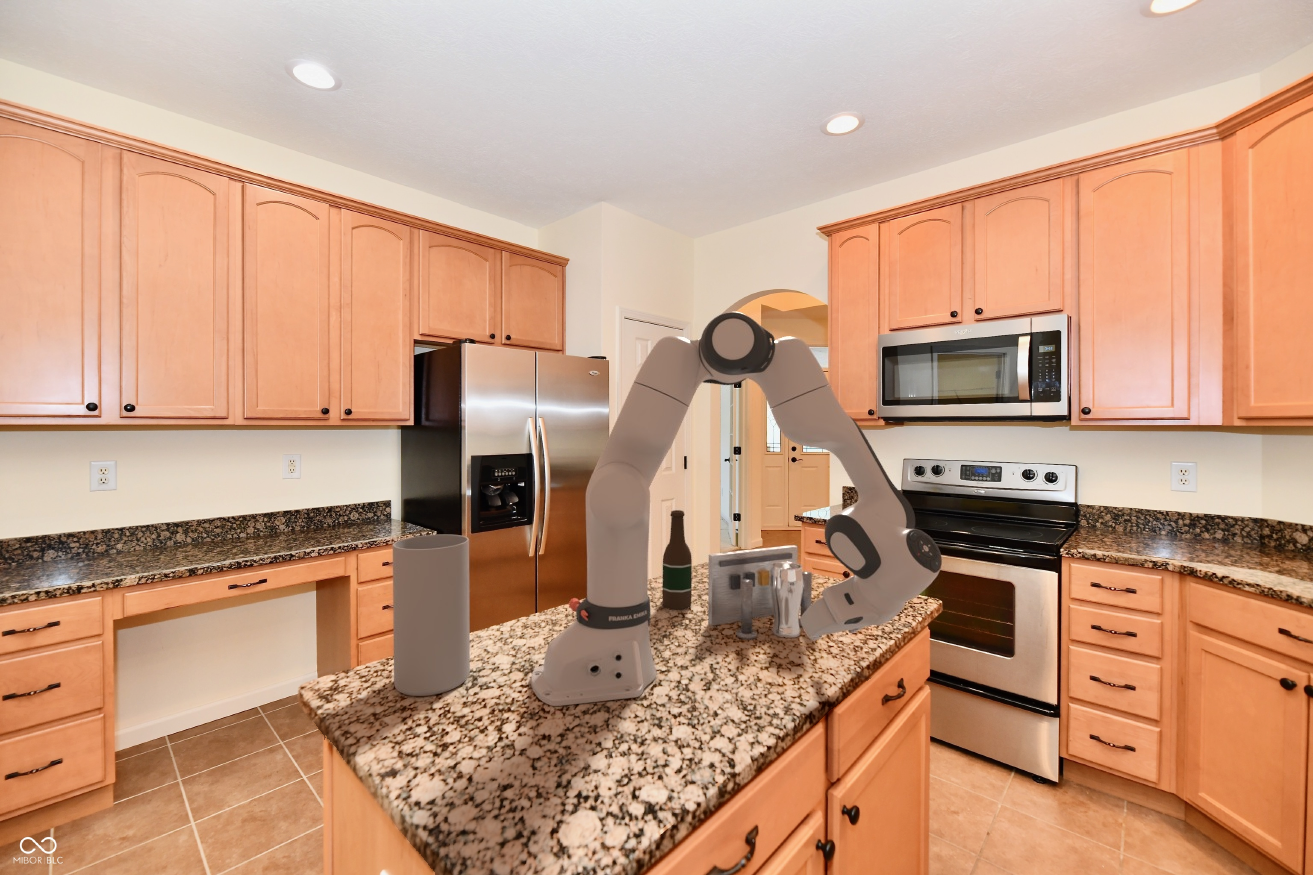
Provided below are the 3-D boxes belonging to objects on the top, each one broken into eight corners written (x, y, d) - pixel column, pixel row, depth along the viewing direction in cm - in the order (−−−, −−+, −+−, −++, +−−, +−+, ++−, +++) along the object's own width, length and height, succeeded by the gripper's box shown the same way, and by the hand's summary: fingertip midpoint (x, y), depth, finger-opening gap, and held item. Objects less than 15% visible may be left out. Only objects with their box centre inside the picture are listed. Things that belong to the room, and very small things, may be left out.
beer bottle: (657, 601, 142) (658, 509, 141) (686, 599, 144) (686, 507, 143) (667, 611, 134) (667, 514, 134) (697, 608, 137) (697, 512, 136)
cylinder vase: (484, 675, 100) (483, 539, 99) (422, 705, 89) (421, 553, 89) (441, 659, 107) (440, 531, 106) (379, 685, 96) (377, 543, 96)
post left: (743, 640, 116) (744, 584, 116) (732, 633, 120) (732, 579, 120) (761, 637, 118) (761, 582, 118) (749, 630, 122) (749, 577, 122)
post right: (804, 629, 123) (804, 576, 123) (791, 623, 127) (792, 571, 127) (819, 626, 125) (820, 574, 124) (807, 620, 129) (807, 569, 128)
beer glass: (791, 641, 116) (791, 571, 116) (763, 632, 121) (764, 565, 121) (808, 632, 121) (809, 565, 121) (781, 624, 126) (781, 559, 126)
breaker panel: (713, 627, 124) (714, 556, 124) (708, 623, 127) (708, 554, 126) (799, 612, 134) (800, 547, 134) (792, 609, 136) (793, 545, 136)
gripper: (903, 575, 104) (863, 610, 113) (817, 588, 95) (782, 625, 104) (923, 606, 100) (880, 640, 109) (835, 622, 91) (797, 657, 100)
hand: (831, 632), depth 107 cm, fingers open, 8 cm apart
